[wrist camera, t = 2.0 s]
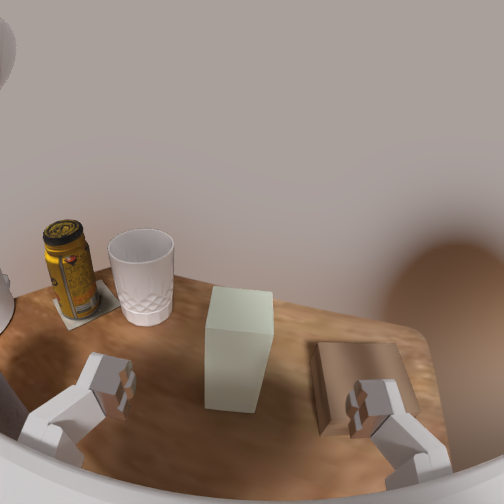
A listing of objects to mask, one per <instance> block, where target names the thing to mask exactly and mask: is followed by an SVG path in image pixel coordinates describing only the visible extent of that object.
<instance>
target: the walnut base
mask: <svg viewBox="0 0 504 504" xmlns="http://www.w3.org/2000/svg"><path fill="white" fill-rule="evenodd" d="M310 366H311V373H312V380H313V387H314V394H315V401H316V409H317V416H318V424H319V432H320V436H338V435H350V433H349V428H348V423H349V422H350V420H351V419H350V418H349V417H348V416H347V415H346V410H345V402H346V397H347V395H348V393H349V392H350V391H352V390H354V387H353V385H354V383H355V382H356V381H357V380H372V379H394V380H395V381H396V384H397V387H398V390H399V393H400V396H401V399H402V402H403V406H404V409H405V412H406V413H410V414H411V415H412V416H413V417H414V418H415V417H416V416H417V415H418V414H419V413H420V412H421V411H420V408H419V405H418V402H417V399H416V396H415V393H414V391H413V388H412V385H411V382H410V380H409V377H408V374H407V372H406V369H405V366H404V364H403V361H402V358H401V356H400V353H399V351H398V348H397V346H396V343H331V342H318V343H317V345H316V348H315V351H314V353H313V356H312V358H311V361H310Z"/></svg>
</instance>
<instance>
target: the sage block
mask: <svg viewBox="0 0 504 504" xmlns="http://www.w3.org/2000/svg"><path fill="white" fill-rule="evenodd" d="M273 336H274V324H273V297H272V292H267V291H256V290H247V289H238V288H229V287H220V286H213V291H212V296H211V301H210V306H209V311H208V316H207V321H206V326H205V408H206V409H215V410H224V411H234V412H245V413H255V409H256V406H257V402H258V398H259V394H260V390H261V386H262V382H263V378H264V374H265V370H266V366H267V361H268V357H269V353H270V349H271V345H272V340H273Z"/></svg>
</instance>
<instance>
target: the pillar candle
mask: <svg viewBox="0 0 504 504" xmlns="http://www.w3.org/2000/svg"><path fill="white" fill-rule="evenodd" d="M29 414H30V413H29V411H28V410H27V409H26V407H25V406H24V405H23V403H22V402H21V401H20V399H19V398H18V397H17V395H16V394H15V392H14V391H13V390H12V388H11V387H10V385H9V384H8V382H7V381H6V379H5V378H4V376H3V375H2V373H1V371H0V433H2V434H4V435H6V436H8V437H10V438H12V439H14V440H16V441H18V438H19V436H20V433H21V431H22V429H23V426H24V424H25V422H26V420H27V417H28V415H29Z"/></svg>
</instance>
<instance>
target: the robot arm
mask: <svg viewBox="0 0 504 504" xmlns="http://www.w3.org/2000/svg"><path fill="white" fill-rule="evenodd" d="M15 55H16V42H15V37H14V34H13V31H12V30H11V28H10V26H9V25H8V24H7V23H6V22H5V21H4V20H3V19H1V18H0V89H1V88H2V86H3V85H4V83H5V82H6V80H7V79H8V77H9V75H10V73H11V70H12V68H13V64H14V60H15ZM9 287H10V280H9V278H8V276H7V275H6V274H2V272H1V269H0V333H1V332H2V331H3V330H4V329H5V327H6V326H7V324H8V323H9V321H10V319H11V317H12V314H13V311H14V299H13V296H12V294H11V293H10V291H9ZM132 367H133V365H132V362H131V361H130V360H126V359H121V358H117V357H112V356H108V355H104V354H100V353H95V352H92V353H91V354H90V356H89V358H88V360H87V362H86V364H85V366H84V368H83V371H82V373H81V375H80V377H79V379H78V382H77V384H76V386H75V385H71V386H70V387H68V388H67V389H65V390H64V391H62V392H61V393H59V394H58V395H56V396H55V397H53V398H52V399H51V400H49V401H48V402H46V403H45V404H43V405H42V406H40V407H39V408H37V409H36V410H34V411H33V412H31V413H30V414H29V415H28V417H27V420H26V422H25V424H24V426H23V429H22V431H21V433H20V436H19V438H18V441H16V440H14V439H12V438H10V437H8V436H6V435H4V434H2V433H0V504H504V455H502V456H499V457H497V458H494V459H492V460H490V461H487V462H485V463H482V464H479V465H477V466H474V467H472V468H469V469H466V470H463V471H460V472H457V473H454V474H453V471H452V467H451V464H450V460H449V457H448V453H447V450H446V447H445V446H444V445H443V444H442V443H441V442H440V441H439V440H438V439H436V438H435V437H434V436H433V435H432V434H431V433H430V432H429V431H428V430H427V429H426V428H425V427H424V426H422V425H421V424H420V423H419V422H418V421H417V420H416V419H415V418H414V417H413V416H412V415H411V414H410V413H406V412H405V409H404V406H403V402H402V399H401V396H400V393H399V390H398V387H397V384H396V381H395V380H394V379H372V380H357V381H356V382H355V383H354V385H353V387H354V390H352V391H350V392H349V393H348V395H347V397H346V402H345V410H346V415H347V416H348V417H349V418H350V419H351V420H350V422H349V423H348V428H349V433H350V439H355V438H370V439H371V440H372V442H373V443H374V444H375V445H376V447H377V448H378V449H379V450H380V452H381V453H382V454H383V455H384V457H385V458H386V459H387V460H388V462H389V463H390V464H391V465H392V467H393V468H394V469H395V471H394V472H393V473H391V474H390V475H388V476H387V477H386V478H385V485H386V491H382V492H377V493H371V494H364V495H357V496H350V497H341V498H331V499H319V500H300V501H253V500H235V499H222V498H212V497H203V496H196V495H189V494H182V493H176V492H170V491H165V490H160V489H155V488H150V487H145V486H141V485H137V484H133V483H129V482H125V481H121V480H117V479H114V478H110V477H107V476H104V475H100V474H97V473H94V472H91V471H88V470H85V469H82V464H83V461H84V455H83V453H82V452H81V451H80V450H79V449H78V448H77V446H76V444H77V443H78V442H79V441H80V440H81V439H82V438H83V437H84V436H86V435H87V434H88V433H89V432H90V431H91V430H92V429H93V428H94V427H95V426H97V425H98V424H99V423H100V422H101V421H102V420H103V419H104V418H105V416H108V417H112V418H116V419H121V420H125V421H126V420H127V416H128V413H129V410H130V407H131V406H130V403H129V401H128V400H130V399H131V398H132V397H134V393H135V389H136V376H135V373H134V372H133V371H132Z"/></svg>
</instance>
